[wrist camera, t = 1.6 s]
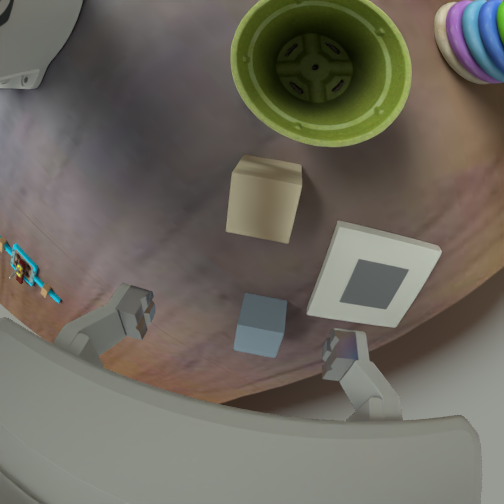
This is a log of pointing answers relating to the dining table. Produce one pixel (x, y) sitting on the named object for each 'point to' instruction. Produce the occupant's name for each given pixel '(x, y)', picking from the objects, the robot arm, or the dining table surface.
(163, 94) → the dining table surface
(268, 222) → the maple block
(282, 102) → the plant pot
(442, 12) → the stacking toy
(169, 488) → the robot arm
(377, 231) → the plate
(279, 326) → the slate blue block
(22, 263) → the gear mechanism
